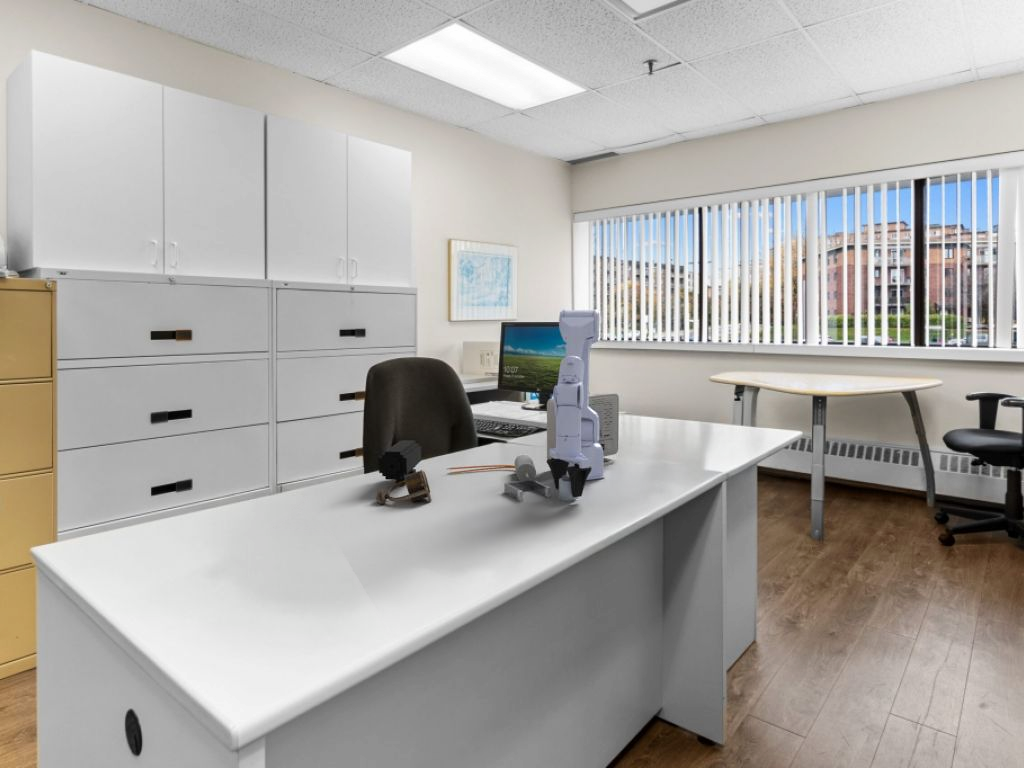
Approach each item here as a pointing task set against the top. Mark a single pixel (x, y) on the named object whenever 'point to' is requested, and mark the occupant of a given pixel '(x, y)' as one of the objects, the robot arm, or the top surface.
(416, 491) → the mechanical counter
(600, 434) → the network device
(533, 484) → the clip cradle
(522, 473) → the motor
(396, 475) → the security camera
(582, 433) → the robot arm
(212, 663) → the top surface
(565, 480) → the light grey cylinder
